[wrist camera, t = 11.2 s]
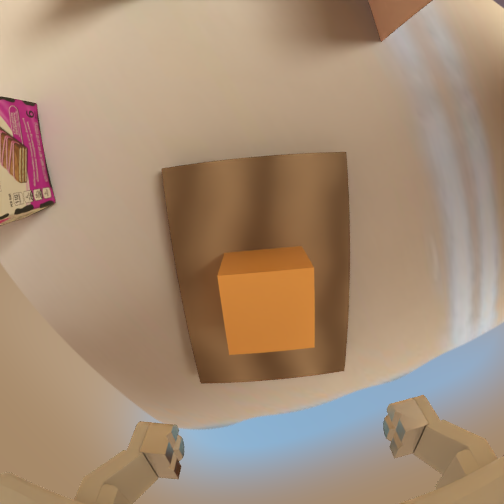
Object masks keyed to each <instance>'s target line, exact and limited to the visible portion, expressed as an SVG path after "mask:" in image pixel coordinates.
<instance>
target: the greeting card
mask: <svg viewBox="0 0 504 504" xmlns="http://www.w3.org/2000/svg"><path fill="white" fill-rule="evenodd" d="M431 1H432V0H368V2H369V5H370V8H371V11H372V14H373V17H374V20H375V24H376V27H377V30H378V33H379V37H380V40H381V42H382V41H383V40H384V39H385V38H387V37H388V36H389V35H390V34H391V33H393V32H394V31H395V30H396V29H397V28H399V27H400V26H401V25H402V24H403V23H405V22H406V21H407V20H408V19H409V18H411V17H412V16H413V15H414V14H416V13H417V12H418V11H419V10H421V9H422V8H423V7H425V6H426V5H427V4H428V3H430V2H431Z"/></svg>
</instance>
